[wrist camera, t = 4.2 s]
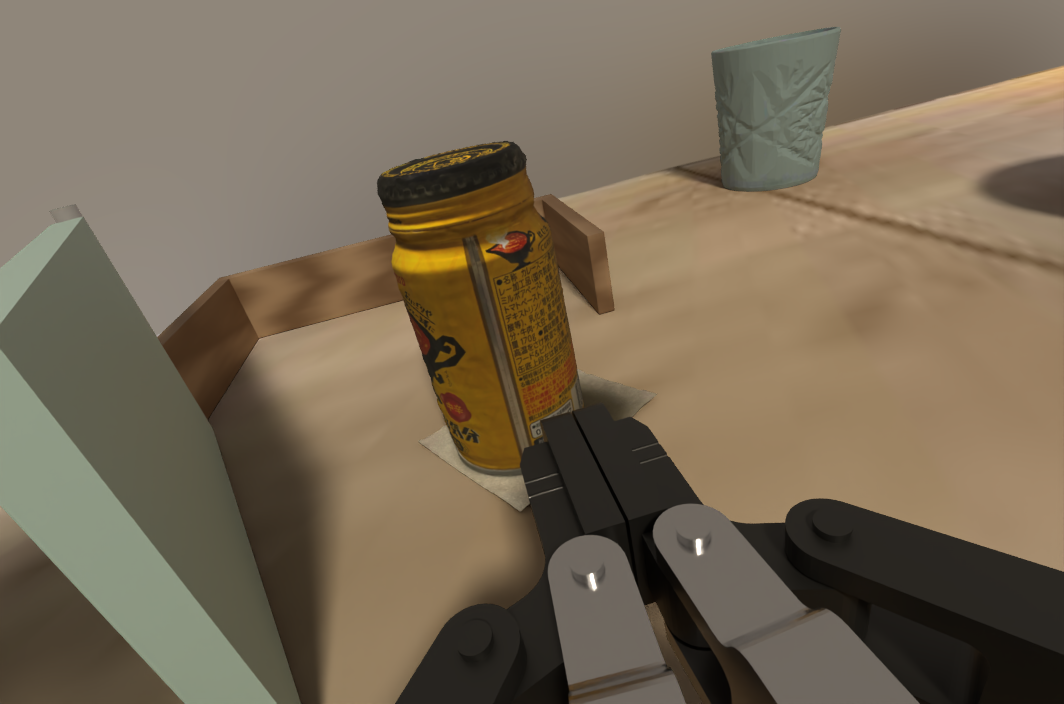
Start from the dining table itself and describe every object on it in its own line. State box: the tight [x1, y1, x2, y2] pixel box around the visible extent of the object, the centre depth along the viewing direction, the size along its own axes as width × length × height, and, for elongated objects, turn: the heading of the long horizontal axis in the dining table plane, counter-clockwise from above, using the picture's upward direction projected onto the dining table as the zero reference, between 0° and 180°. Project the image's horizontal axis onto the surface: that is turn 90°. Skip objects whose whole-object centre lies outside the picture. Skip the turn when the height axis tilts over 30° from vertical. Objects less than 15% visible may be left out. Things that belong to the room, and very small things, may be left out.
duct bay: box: [157, 194, 615, 420], centre depth 36 cm, size 26×13×5 cm, turn 102°
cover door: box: [0, 205, 301, 704], centre depth 19 cm, size 22×1×13 cm, turn 37°
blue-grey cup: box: [711, 27, 841, 191], centre depth 48 cm, size 10×10×12 cm
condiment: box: [377, 141, 657, 511], centre depth 21 cm, size 7×8×12 cm
